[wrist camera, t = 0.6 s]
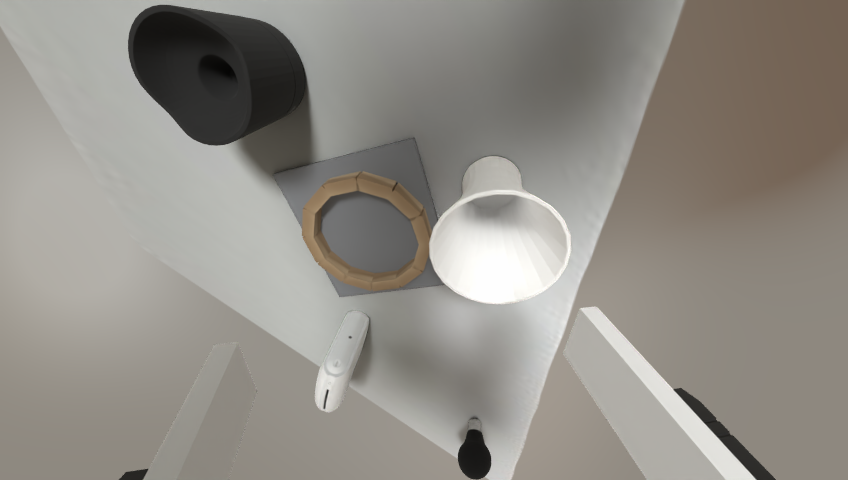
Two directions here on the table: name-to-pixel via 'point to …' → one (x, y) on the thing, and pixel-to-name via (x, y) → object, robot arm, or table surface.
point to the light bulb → (474, 452)
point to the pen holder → (215, 70)
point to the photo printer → (341, 361)
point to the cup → (499, 238)
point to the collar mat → (367, 212)
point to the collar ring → (381, 189)
